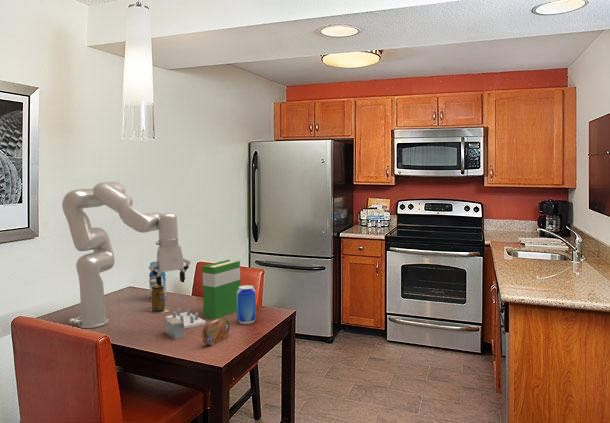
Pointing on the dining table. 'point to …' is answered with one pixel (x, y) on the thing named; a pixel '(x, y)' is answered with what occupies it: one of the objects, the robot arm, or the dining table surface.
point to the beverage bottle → (153, 281)
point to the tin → (215, 331)
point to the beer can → (246, 304)
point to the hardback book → (220, 288)
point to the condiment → (158, 300)
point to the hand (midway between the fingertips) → (171, 283)
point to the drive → (174, 328)
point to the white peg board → (187, 318)
